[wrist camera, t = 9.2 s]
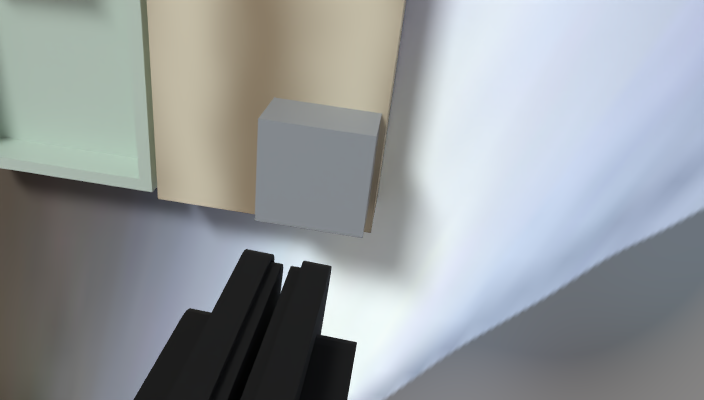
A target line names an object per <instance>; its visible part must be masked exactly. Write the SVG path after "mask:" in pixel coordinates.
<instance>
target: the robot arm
mask: <svg viewBox="0 0 704 400" xmlns="http://www.w3.org/2000/svg"><path fill="white" fill-rule="evenodd" d="M282 275H283V264H279V263H274V255H273V254H268V253H263V252H258V251H253V250H248V249H246V250H244V252H243V253H242V255H241V257H240V259H239V261H238V263H237V265H236V267H235V269H234V271H233V273H232V275H231V276H230V278H229V280H228V282H227V284H226V286H225V288H224V290H223V292H222V294H221V296H220V298H219V299H218V301H217V303H216V305H215V307H214V309H213V311H212V313H210V312H205V311H200V310H195V309H191V308H190V309H188V310H187V311H186V312H185V313H184V315H183V316H182V318H181V320H180V321H179V323H178V325H177V326H176V328H175V330H174V332H173V333H172V335H171V337H170V338H169V340H168V342H167V343H166V345H165V347H164V349H163V350H162V352H161V354H160V355H159V357H158V359H157V361H156V362H155V364H154V366H153V367H152V369H151V371H150V373H149V374H148V376H147V378H146V379H145V381H144V383H143V385H142V386H141V388H140V390H139V391H138V393H137V395H136V397H135V398H134V400H347V397H348V392H349V386H350V380H351V374H352V368H353V362H354V357H355V351H356V345H357V342H353V341H348V340H343V339H338V338H333V337H328V336H323V335H321V329H322V323H323V317H324V311H325V305H326V299H327V293H328V287H329V281H330V275H331V266H328V265H323V264H318V263H313V262H308V261H303V263H302V266H301V268H299V267H294V266H291V267H290V270H289V272H288V275H287V278H286V280H285V283H284V286H283V288H282V291H281V283H282ZM280 292H281V293H280Z"/></svg>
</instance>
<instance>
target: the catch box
mask: <svg viewBox="0 0 704 400" xmlns="http://www.w3.org/2000/svg"><path fill="white" fill-rule="evenodd" d="M0 168H4V169H10V170H16V171H23V172H29V173H35V174H41V175H48V176H54V177H60V178H66V179H73V180H79V181H85V182H91V183H98V184H104V185H110V186H117V187H123V188H129V189H135V190H142V191H148V192H153V191H154V190H155V189H156V187H157V172H156V155H155V137H154V120H153V103H152V85H151V68H150V51H149V33H148V16H147V0H0Z"/></svg>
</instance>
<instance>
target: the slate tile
mask: <svg viewBox="0 0 704 400" xmlns="http://www.w3.org/2000/svg"><path fill="white" fill-rule="evenodd" d="M381 116H382V113H376V112H369V111H362V110H356V109H349V108H342V107H335V106H329V105H322V104H315V103H308V102H302V101H295V100H288V99H281V98H275V97H274V98H273V100H272V101H271V102H270V104H269V105H268V106H267V108H266V109H265V110H264V112H263V113H262V114H261V116H260V117H259V118H258V138H257V167H256V197H255V221H260V222H266V223H273V224H279V225H285V226H291V227H298V228H304V229H310V230H316V231H322V232H329V233H335V234H341V235H347V236H354V237H360V238H362V237H363V232H364V228H365V223H366V218H367V213H368V208H369V201H370V194H371V187H372V180H373V173H374V166H375V159H376V152H377V145H378V138H379V130H380V123H381Z"/></svg>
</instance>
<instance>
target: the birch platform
mask: <svg viewBox="0 0 704 400" xmlns="http://www.w3.org/2000/svg"><path fill="white" fill-rule="evenodd" d="M405 5H406V0H147V16H148V33H149V51H150V68H151V85H152V103H153V120H154V137H155V155H156V172H157V189H158V199H162V200H169V201H175V202H181V203H187V204H194V205H200V206H206V207H212V208H219V209H225V210H231V211H237V212H244V213H250V214H255V197H256V167H257V138H258V118H259V117H260V116H261V114H262V113H263V112H264V110H265V109H266V108H267V106H268V105H269V104H270V102H271V101H272V100H273V98H274V97H275V98H281V99H288V100H295V101H302V102H308V103H315V104H322V105H329V106H335V107H342V108H349V109H356V110H362V111H369V112H376V113H382V116H381V123H380V130H379V138H378V145H377V152H376V159H375V166H374V173H373V180H372V187H371V194H370V201H369V208H368V213H367V218H366V223H365V228H364V232H368V233H371V228H372V223H373V217H374V212H375V207H376V202H377V195H378V188H379V181H380V174H381V168H382V161H383V154H384V147H385V141H386V134H387V127H388V120H389V114H390V107H391V100H392V93H393V86H394V80H395V73H396V66H397V59H398V53H399V46H400V39H401V32H402V26H403V19H404V12H405Z"/></svg>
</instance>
